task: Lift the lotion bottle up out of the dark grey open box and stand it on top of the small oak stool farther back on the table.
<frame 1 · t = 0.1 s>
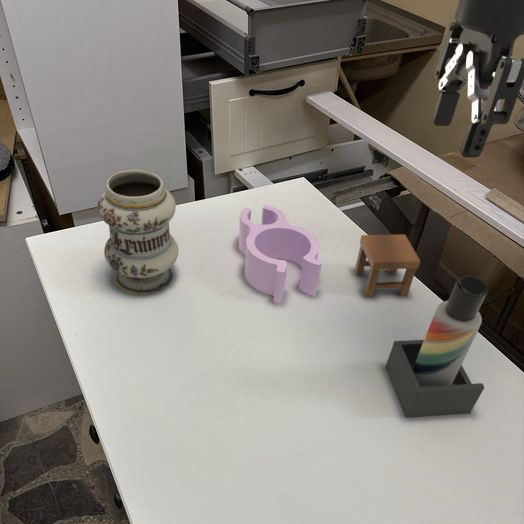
hand: (454, 139, 61), 33 cm above the table, tool pointing down, fingers open, 8 cm apart
stool: (379, 285, 94), on the table
dark grey open box: (425, 391, 77), on the table
clip: (273, 268, 96), on the table
lotion bottle: (425, 392, 77), resting in dark grey open box
apothecary jar: (145, 279, 91), on the table
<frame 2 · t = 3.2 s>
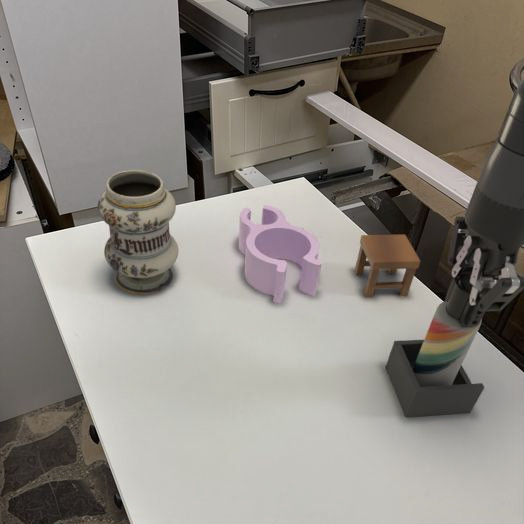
hand: (460, 312, 66), 15 cm above the table, tool pointing down, fingers closed on lotion bottle, 4 cm apart
lotion bottle: (425, 392, 77), resting in dark grey open box, touching gripper
everything else where it was.
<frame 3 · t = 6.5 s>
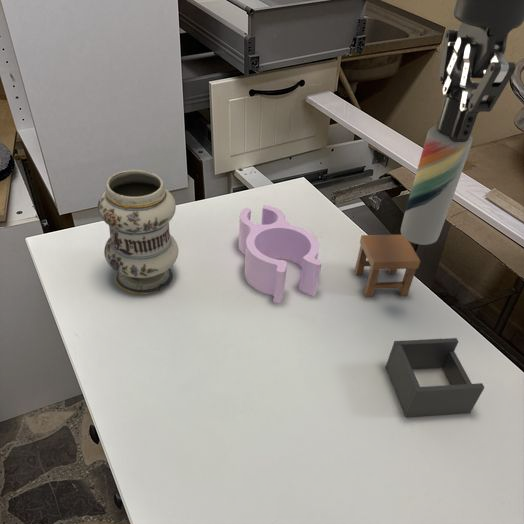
hand: (451, 132, 67), 31 cm above the table, tool pointing down, fingers closed on lotion bottle, 3 cm apart
lotion bottle: (418, 235, 78), point 15 cm above the table, touching gripper
everything else where it was.
when the fingers open (23 cm above the table, at t = 9.7 s): lotion bottle stays where it is, resting on stool.
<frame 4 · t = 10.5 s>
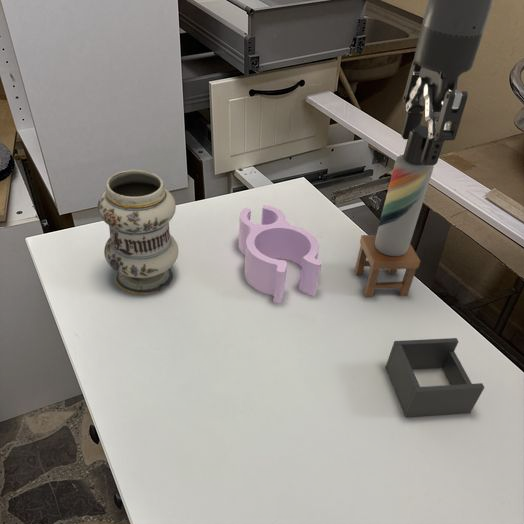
hand: (417, 150, 77), 25 cm above the table, tool pointing down, fingers open, 8 cm apart
lotion bottle: (390, 248, 89), point 8 cm above the table, touching stool
everything else where it was.
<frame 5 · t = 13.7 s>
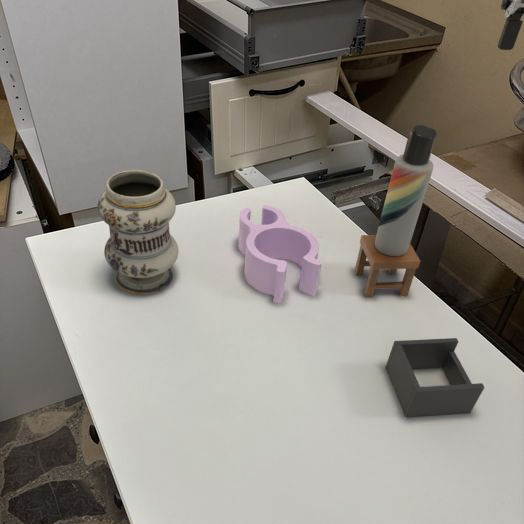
hand: (518, 58, 74), 36 cm above the table, tool pointing down, fingers open, 8 cm apart
nothing on the table moved.
at the end: lotion bottle 0.1 cm off-centre on the stool, point 7.8 cm above the stool's base; lotion bottle tilted 0°; the gripper is holding nothing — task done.
